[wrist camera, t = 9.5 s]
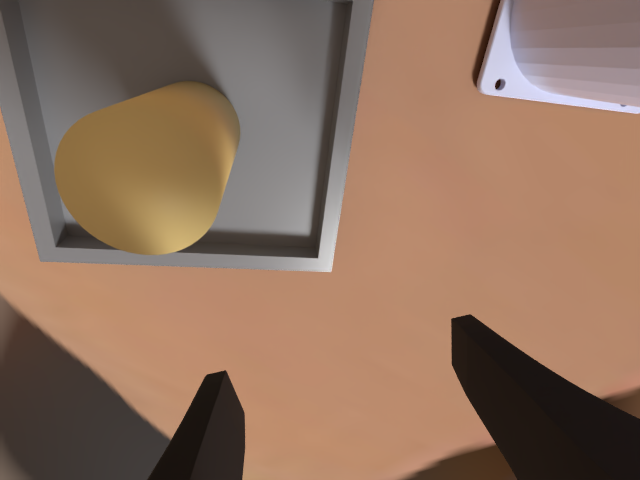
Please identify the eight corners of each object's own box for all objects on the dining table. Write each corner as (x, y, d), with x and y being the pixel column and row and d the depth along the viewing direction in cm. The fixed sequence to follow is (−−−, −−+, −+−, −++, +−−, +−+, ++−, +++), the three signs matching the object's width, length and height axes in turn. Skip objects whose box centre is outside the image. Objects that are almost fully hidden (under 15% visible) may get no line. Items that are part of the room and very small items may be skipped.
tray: (365, -14, 15) (377, -22, 14) (326, 255, 21) (331, 271, 20) (-14, -79, 13) (-52, -97, 11) (59, 243, 19) (40, 261, 17)
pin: (241, 86, 16) (220, 116, 9) (239, 175, 18) (220, 258, 11) (144, 75, 15) (37, 96, 8) (151, 168, 17) (69, 251, 10)
